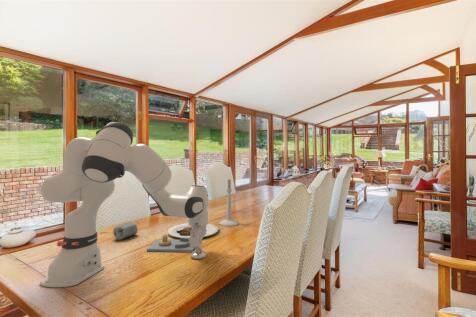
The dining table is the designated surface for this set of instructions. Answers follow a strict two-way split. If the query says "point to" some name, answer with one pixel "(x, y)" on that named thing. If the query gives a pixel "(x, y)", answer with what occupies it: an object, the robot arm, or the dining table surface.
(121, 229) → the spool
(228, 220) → the grey rod on disc
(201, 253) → the silver rounded piece
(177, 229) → the plated food
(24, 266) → the dining table surface
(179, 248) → the carrier
